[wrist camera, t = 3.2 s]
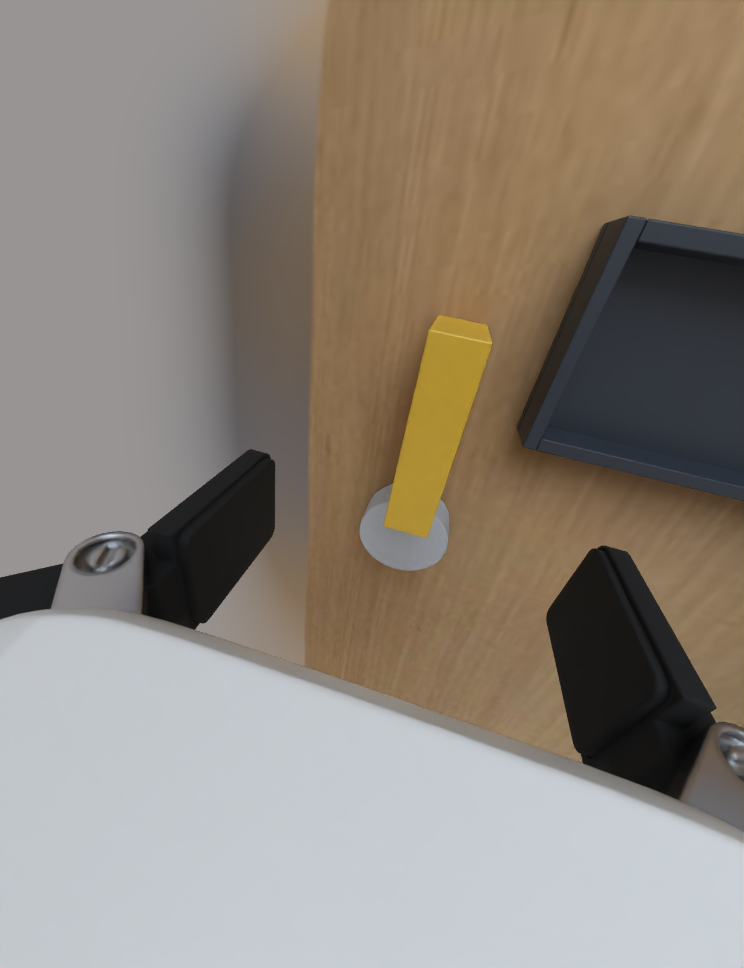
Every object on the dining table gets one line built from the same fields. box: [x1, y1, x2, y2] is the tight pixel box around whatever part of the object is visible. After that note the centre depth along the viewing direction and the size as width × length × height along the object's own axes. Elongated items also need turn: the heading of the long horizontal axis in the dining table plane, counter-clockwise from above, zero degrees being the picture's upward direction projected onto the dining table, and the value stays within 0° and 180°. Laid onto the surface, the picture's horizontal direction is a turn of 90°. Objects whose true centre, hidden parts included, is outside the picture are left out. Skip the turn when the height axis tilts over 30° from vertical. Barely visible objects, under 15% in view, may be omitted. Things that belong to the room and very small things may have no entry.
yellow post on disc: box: [359, 315, 493, 571], centre depth 17 cm, size 14×5×4 cm, turn 171°
